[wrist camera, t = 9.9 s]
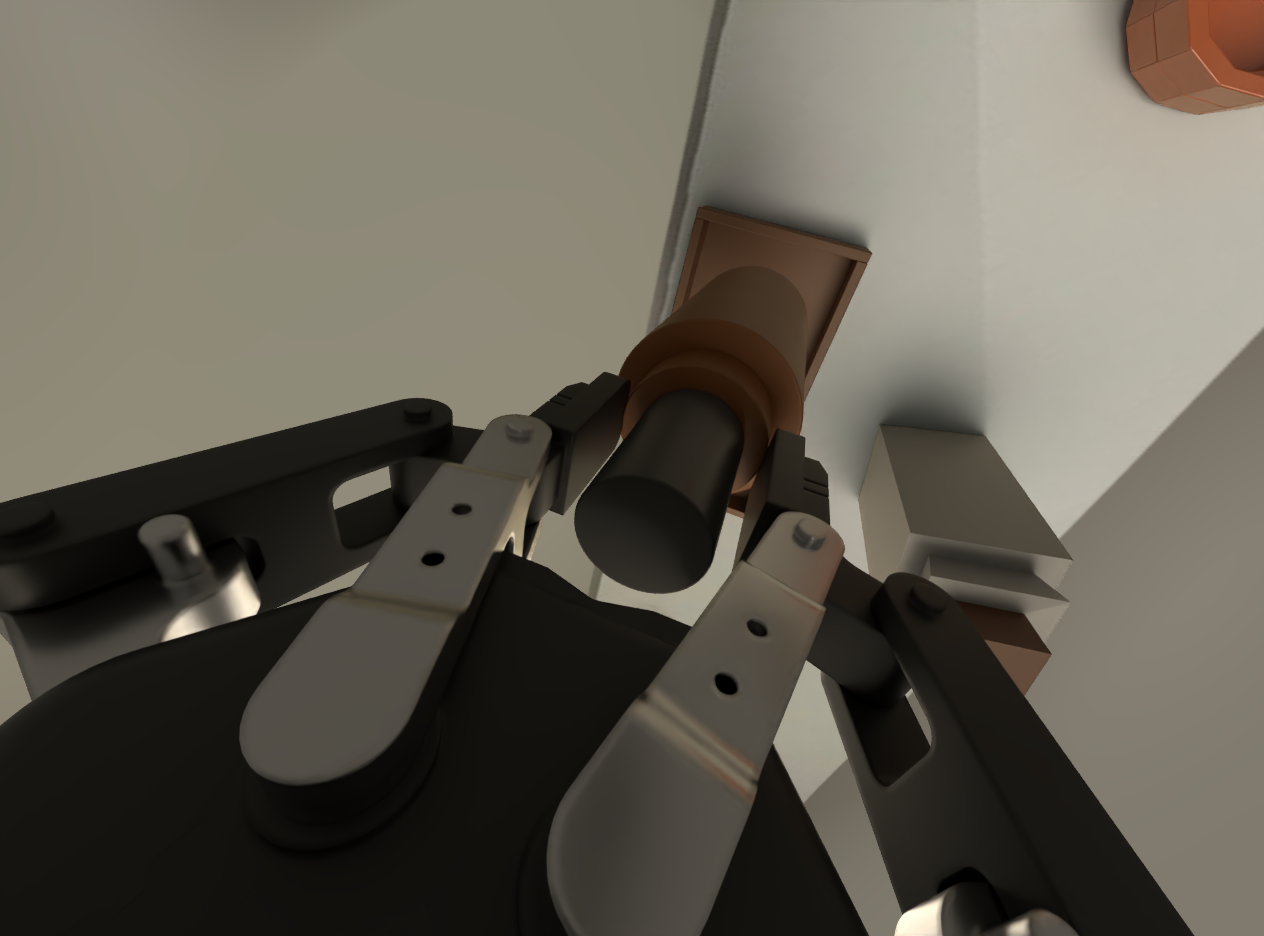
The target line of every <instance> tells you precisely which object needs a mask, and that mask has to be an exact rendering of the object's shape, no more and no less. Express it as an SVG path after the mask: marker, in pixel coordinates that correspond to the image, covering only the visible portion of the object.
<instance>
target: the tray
mask: <svg viewBox="0 0 1264 936" xmlns="http://www.w3.org/2000/svg"><path fill="white" fill-rule="evenodd" d="M871 255H872V253H871V252H870V251H869V249H867V248H864V247H860V246H856V245H853V244H849V243H845V242H841V241H837V240H834V239H830V238H826V237H822V236H819V235H815V234H811V233H807V232H803V231H800V230H796V229H792V228H788V227H785V226H781V225H777V224H773V223H769V222H766V221H762V220H758V219H754V218H751V217H747V216H743V215H739V214H735V213H732V212H728V211H724V210H720V209H717V208H713V207H709V206H702V207H698V211H697V214H696V218H695V222H694V226H693V230H692V234H691V238H690V242H689V246H688V250H687V254H686V258H685V262H684V266H683V270H682V274H681V278H680V282H679V286H678V290H677V294H676V298H675V302H674V306H673V310H672V314H673V313H674V312H675V311H677V310H678V309H679V308H680V307H681V306H682V305H683V304H685V303H686V302H687V301H688V300H689V299H690V298H692V297H693V296H694V295H695V294H696V293H697V292H699V291H700V290H701V289H702V288H703V287H704V286H706V285H707V284H708V283H709V282H710V281H712V280H713V279H714V278H715V277H717V276H718V275H720V274H722V273H723V272H726V271H728V270H730V269H734V268H737V267H743V266H760V267H765V268H769V269H772V270H774V271H776V272H778V273H780V274H782V275H783V276H785V277H786V278H787V279H788V280H789V281H791V282H792V283H793V285H794V286H795V287H796V288H797V290H798V291H799V293H800V294H801V296H802V299H803V301H804V303H805V307H806V311H807V344H806V365H805V387H804V401H805V399H806V397H807V394H808V392H809V390H810V388H811V386H812V383H813V381H814V379H815V377H816V375H817V373H818V370H819V368H820V366H821V364H822V362H823V360H824V357H825V355H826V353H827V351H828V349H829V346H830V344H831V342H832V340H833V338H834V336H835V333H836V331H837V329H838V327H839V325H840V323H841V320H842V318H843V316H844V314H845V312H846V309H847V307H848V305H849V303H850V301H851V299H852V296H853V294H854V292H855V290H856V288H857V286H858V283H859V281H860V279H861V277H862V275H863V272H864V270H865V268H866V266H867V263H868V261H869V259H870V257H871ZM672 314H671V315H672ZM750 490H751V488H749V489H747V490H744V491H740V492H737V493H732V494H731V496H730V500H729V503H728V507H727V511H726V512H727V513H730V514H732V515H735V516H738V517H740V518H743V519H744V514H745V510H746V505H747V501H748V497H749V493H750Z"/></svg>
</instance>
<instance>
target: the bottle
mask: <svg viewBox="0 0 1264 936" xmlns="http://www.w3.org/2000/svg"><path fill="white" fill-rule="evenodd" d="M806 344H807V311H806V307H805V303H804V301H803V299H802V296H801V294H800V293H799V291H798V290H797V288H796V287H795V286H794V285H793V283H792V282H791V281H789V280H788V279H787V278H786V277H785V276H783V275H782V274H780V273H778V272H776V271H774V270H772V269H769V268H765V267H760V266H743V267H737V268H734V269H730V270H728V271H726V272H723V273H722V274H720V275H718V276H717V277H715V278H714V279H713V280H712V281H710V282H709V283H708V284H707V285H706V286H704V287H703V288H702V289H701V290H700V291H699V292H697V293H696V294H695V295H694V296H693V297H692V298H690V299H689V300H688V301H687V302H686V303H685V304H683V305H682V306H681V307H680V308H679V309H678V310H677V311H675V312H674V313H673V314H672V315H671V316H670V317H668V318H667V319H666V320H665V321H664V322H663V323H661V324H660V325H659V326H658V327H657V328H656V329H654V330H653V331H652V332H651V333H650V334H649V335H647V336H646V337H645V338H644V339H643V340H642V341H641V342H640V343H639V344H638V345H637V346H636V347H635V348H634V349H633V350H632V352H631V353H630V354H629V356H628V357H627V358H626V360H625V362H624V364H623V366H622V368H621V370H620V373H619V376H620V377H623V378H626V379H629V380H630V381H631V387H630V393H629V398H628V401H627V403H626V406H625V410H624V414H623V421H622V431H621V436H622V438H623V442H622V443H621V444H620V445H619V447H618V448H617V449H616V451H615V452H614V453H613V455H612V456H611V457H610V459H609V460H608V461H607V463H606V464H605V465H604V466H603V468H602V469H601V470H600V472H599V473H598V474H597V476H596V477H595V478H594V479H593V481H592V482H591V483H590V485H589V486H588V487H587V489H586V490H585V491H584V492H583V494H582V495H581V497H580V499H579V500H578V503H577V506H576V509H575V518H574V524H575V531H576V535H577V538H578V540H579V543H580V545H581V547H582V549H583V551H584V552H585V554H586V555H587V557H588V558H589V559H590V561H591V562H592V563H593V564H594V565H595V566H596V567H597V568H598V569H599V570H600V571H601V572H603V573H604V574H605V575H606V576H608V577H609V578H611V579H612V580H614V581H616V582H618V583H620V584H621V585H624V586H626V587H628V588H631V589H634V590H637V591H642V592H646V593H654V594H666V593H674V592H678V591H681V590H684V589H687V588H689V587H691V586H693V585H694V584H695V583H697V582H698V581H699V580H701V579H702V578H703V576H704V575H705V574H706V573H707V571H708V570H709V568H710V566H711V564H712V562H713V558H714V554H715V551H716V547H717V543H718V540H719V536H720V532H721V529H722V525H723V521H724V518H725V514H726V511H727V507H728V503H729V500H730V496H731V494H732V493H737V492H740V491H744V490H747V489H749V488H751V487H752V484H753V482H754V479H755V477H756V474H757V472H758V471H759V469H760V466H761V464H762V462H763V459H764V457H765V455H766V452H767V449H768V446H769V444H770V441H771V439H772V437H773V435H774V432H775V431H776V429H777V428H779V429H782V430H785V431H788V432H791V433H794V434H797V435H800V432H801V428H802V422H803V408H804V387H805V365H806Z"/></svg>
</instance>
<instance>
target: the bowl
mask: <svg viewBox="0 0 1264 936" xmlns="http://www.w3.org/2000/svg"><path fill="white" fill-rule="evenodd" d="M1126 26H1127V27H1126V33H1127V44H1128V54H1129V64H1130V71H1132V72H1131V74H1132V75H1133V76H1134V78H1135V79H1136V80H1137V81H1138V82H1139V84H1140V85H1141V86H1142V87H1143V89H1144V90H1145V91H1146V92H1147V94H1148V95H1149V96H1150V97H1151V99H1152V100H1153V101H1154V102H1155V103H1158V104H1161V105H1164V106H1168V107H1171V108H1174V109H1178V110H1181V111H1184V112H1188V113H1191V114H1194V115H1195V114H1198V115H1200V114H1208V113H1215V112H1223V111H1231V110H1239V109H1246V108H1252V107H1258V106H1263V105H1264V0H1134V2H1133V5H1132V8H1131V11H1130V15H1129V18H1128V21H1127V24H1126Z"/></svg>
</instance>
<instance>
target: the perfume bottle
mask: <svg viewBox="0 0 1264 936" xmlns="http://www.w3.org/2000/svg"><path fill="white" fill-rule="evenodd" d="M859 507H860V514H861V521H862V528H863V535H864V541H865V548H866V555H867V562H868V569H869V575H870V576H872V577H873V578H875V579H877V580H879V581H880V582H882V583H883V582H884V581H885V580H886V578H887V577H888V576H889V575H890V574H892V573H896V572H905V573H911V574H914V575H917V576H920V577H923V578H925V579H927V580H929V581H931V582H933V583H934V584H936V585H937V586H939V587H940V588H942V589H943V590H944V591H946V592H947V593H948V594H949V595H950V596H952V598H953V599H954V600H955V601H956V602H957V603H958V604H959V605H960V607H961V608H962V609H963V611H964V612H965V614H966V615H967V616H968V618H969V619H970V621H971V622H972V623H973V625H974V626H975V628H976V629H977V630H978V632H979V633H980V635H981V636H982V637H983V639H984V640H985V642H986V643H987V645H988V646H989V647H990V649H991V650H992V652H993V653H994V654H995V656H996V657H997V659H998V660H999V661H1000V663H1001V664H1002V666H1003V667H1004V668H1005V670H1006V671H1007V673H1008V674H1009V676H1010V677H1011V678H1012V680H1013V681H1014V683H1015V684H1016V685H1017V687H1018V688H1019V690H1020V691H1021V692H1022V694H1023V695H1025V694H1026V692H1027V691H1028V689H1029V688H1030V686H1031V685H1032V683H1033V682H1034V680H1035V679H1036V677H1037V676H1038V674H1039V673H1040V671H1041V670H1042V668H1043V667H1044V665H1045V664H1046V662H1047V661H1048V659H1049V658H1050V656H1051V652H1050V651H1049V649H1048V648H1047V647H1046V645H1045V642H1046V641H1047V639H1048V638H1049V636H1050V635H1051V633H1052V631H1053V630H1054V628H1055V627H1056V625H1057V624H1058V622H1059V621H1060V619H1061V617H1062V616H1063V614H1064V613H1065V611H1066V609H1067V608H1068V606H1069V605H1070V603H1071V602H1070V601H1069V600H1067V599H1066V598H1064V597H1063V596H1062V595H1061V594H1060V593H1058V592H1057V591H1056V588H1057V587H1058V585H1059V584H1060V582H1061V580H1062V579H1063V577H1064V575H1065V574H1066V572H1067V570H1068V569H1069V567H1070V565H1071V564H1072V562H1073V559H1072V558H1071V556H1070V555H1069V553H1068V552H1067V551H1066V549H1065V548H1064V546H1063V545H1062V544H1061V542H1060V541H1059V539H1058V538H1057V536H1056V535H1055V534H1054V532H1053V531H1052V529H1051V528H1050V527H1049V525H1048V524H1047V522H1046V521H1045V519H1044V518H1043V517H1042V515H1041V514H1040V512H1039V511H1038V510H1037V508H1036V507H1035V505H1034V504H1033V503H1032V501H1031V500H1030V498H1029V497H1028V495H1027V494H1026V493H1025V491H1024V490H1023V488H1022V487H1021V486H1020V484H1019V483H1018V481H1017V480H1016V479H1015V477H1014V476H1013V474H1012V473H1011V471H1010V470H1009V469H1008V467H1007V466H1006V464H1005V463H1004V462H1003V460H1002V459H1001V457H1000V456H999V455H998V453H997V452H996V450H995V449H994V447H993V446H992V445H991V443H990V442H989V440H988V439H987V438H986V436H979V435H970V434H961V433H952V432H943V431H934V430H925V429H916V428H907V427H898V426H889V425H881V424H880V425H879V428H878V432H877V435H876V439H875V442H874V446H873V450H872V453H871V457H870V460H869V464H868V468H867V471H866V475H865V478H864V482H863V486H862V489H861V493H860V496H859Z"/></svg>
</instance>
